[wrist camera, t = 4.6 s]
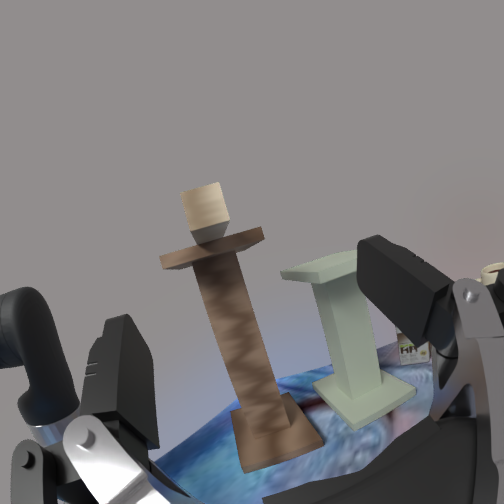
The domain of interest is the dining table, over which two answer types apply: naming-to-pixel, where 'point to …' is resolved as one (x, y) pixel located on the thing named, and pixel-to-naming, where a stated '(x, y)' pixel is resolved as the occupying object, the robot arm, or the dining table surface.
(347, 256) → the low stand
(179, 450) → the dining table surface
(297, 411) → the tall stand
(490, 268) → the character mug
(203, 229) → the wooden block
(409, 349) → the coffee box
